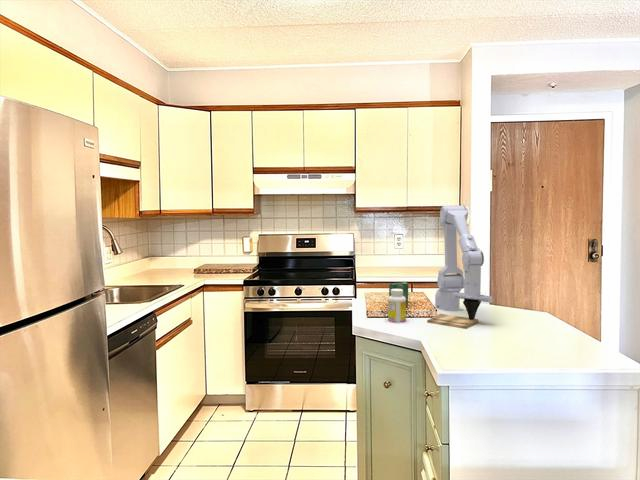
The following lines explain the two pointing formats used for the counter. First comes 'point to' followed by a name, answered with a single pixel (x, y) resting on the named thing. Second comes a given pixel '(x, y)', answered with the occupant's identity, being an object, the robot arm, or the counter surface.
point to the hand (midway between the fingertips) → (471, 319)
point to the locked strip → (448, 323)
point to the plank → (455, 319)
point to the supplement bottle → (397, 306)
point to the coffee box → (400, 286)
